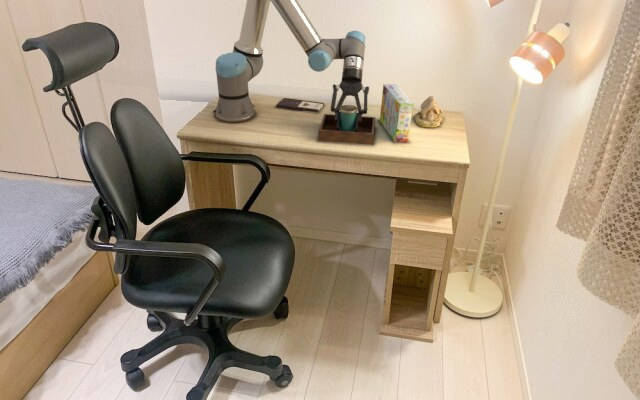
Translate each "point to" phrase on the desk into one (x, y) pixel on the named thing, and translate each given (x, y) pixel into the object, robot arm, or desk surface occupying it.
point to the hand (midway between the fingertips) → (346, 130)
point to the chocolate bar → (300, 105)
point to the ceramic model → (429, 114)
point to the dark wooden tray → (361, 136)
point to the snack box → (396, 112)
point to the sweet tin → (348, 118)
